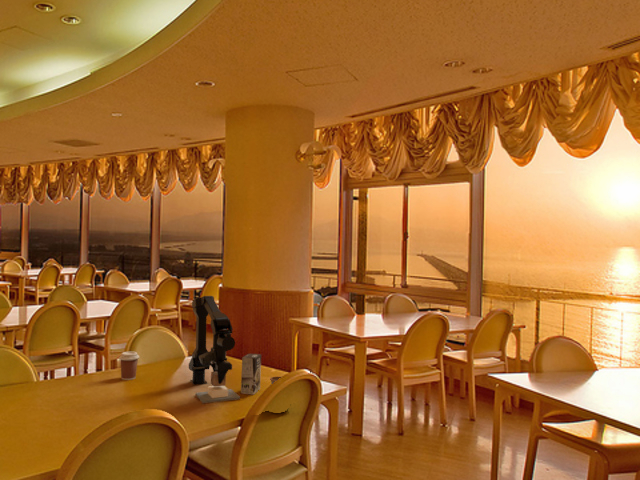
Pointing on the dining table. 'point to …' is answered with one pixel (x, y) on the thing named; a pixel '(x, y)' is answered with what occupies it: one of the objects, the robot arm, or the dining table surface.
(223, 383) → the walnut block
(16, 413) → the dining table surface
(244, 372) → the coffee box
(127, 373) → the coffee cup
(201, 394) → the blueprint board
